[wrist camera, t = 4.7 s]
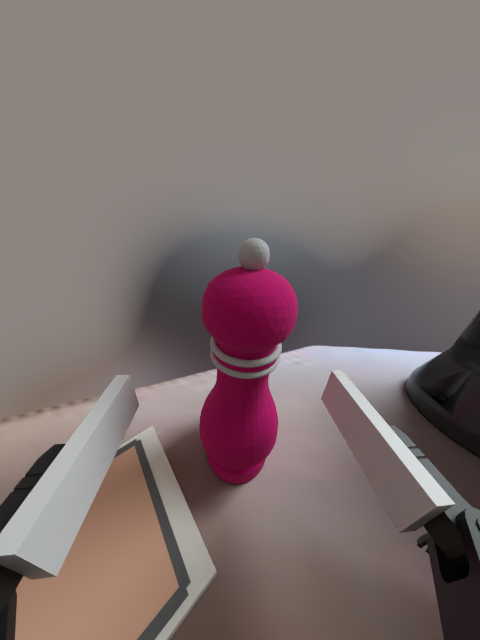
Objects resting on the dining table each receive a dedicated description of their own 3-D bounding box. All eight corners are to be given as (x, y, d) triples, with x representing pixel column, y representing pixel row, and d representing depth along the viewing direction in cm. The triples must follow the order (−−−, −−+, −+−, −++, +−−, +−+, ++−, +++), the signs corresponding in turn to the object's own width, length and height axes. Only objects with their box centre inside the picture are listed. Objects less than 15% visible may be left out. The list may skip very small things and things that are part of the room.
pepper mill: (186, 469, 16) (149, 232, 7) (220, 406, 22) (223, 234, 13) (261, 509, 14) (337, 247, 5) (276, 428, 20) (323, 241, 11)
